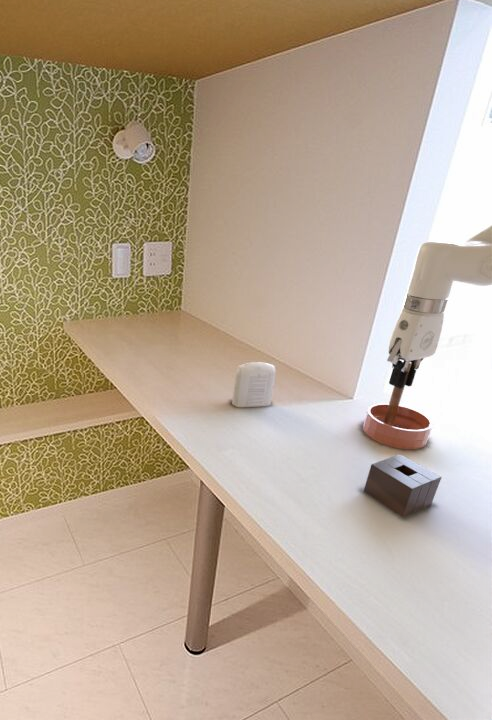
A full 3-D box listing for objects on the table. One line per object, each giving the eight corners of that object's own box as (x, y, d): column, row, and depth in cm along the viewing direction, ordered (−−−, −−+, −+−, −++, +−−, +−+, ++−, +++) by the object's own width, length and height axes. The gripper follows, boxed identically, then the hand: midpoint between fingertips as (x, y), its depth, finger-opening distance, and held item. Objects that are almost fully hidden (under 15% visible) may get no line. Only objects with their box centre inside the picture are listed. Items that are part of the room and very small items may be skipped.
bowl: (408, 424, 107) (414, 404, 105) (437, 454, 95) (445, 432, 93) (353, 422, 108) (358, 402, 106) (375, 451, 96) (381, 429, 94)
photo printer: (266, 401, 118) (272, 358, 112) (272, 408, 114) (279, 364, 109) (229, 403, 117) (234, 360, 111) (234, 410, 113) (240, 366, 107)
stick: (390, 423, 103) (409, 360, 97) (393, 427, 102) (413, 363, 95) (381, 422, 104) (399, 360, 97) (385, 426, 102) (404, 363, 95)
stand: (390, 483, 86) (400, 453, 83) (430, 508, 79) (442, 476, 76) (362, 494, 82) (371, 464, 79) (401, 521, 76) (412, 489, 73)
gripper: (416, 312, 84) (391, 398, 92) (466, 305, 90) (438, 385, 98) (382, 303, 90) (361, 384, 98) (430, 297, 96) (407, 373, 104)
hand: (400, 384), depth 98 cm, fingers closed on stick, 2 cm apart
